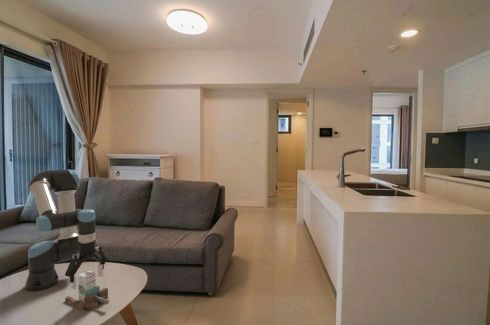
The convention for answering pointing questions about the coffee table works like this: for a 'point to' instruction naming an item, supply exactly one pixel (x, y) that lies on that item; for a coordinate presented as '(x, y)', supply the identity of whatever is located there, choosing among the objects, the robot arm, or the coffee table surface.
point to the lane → (88, 300)
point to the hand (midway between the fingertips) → (87, 282)
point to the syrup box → (86, 283)
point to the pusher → (96, 294)
